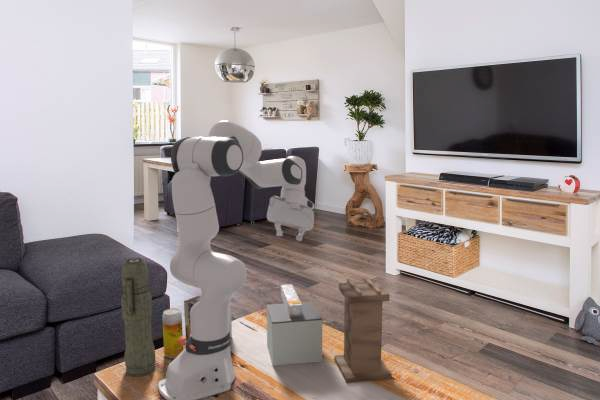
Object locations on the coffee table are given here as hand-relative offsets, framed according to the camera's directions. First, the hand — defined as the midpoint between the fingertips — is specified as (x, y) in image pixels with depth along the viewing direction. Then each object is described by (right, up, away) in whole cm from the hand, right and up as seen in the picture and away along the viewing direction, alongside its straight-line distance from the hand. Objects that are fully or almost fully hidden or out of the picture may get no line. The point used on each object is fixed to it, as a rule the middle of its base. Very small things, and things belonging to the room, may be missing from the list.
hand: (289, 238), depth 168 cm
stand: (+23, -39, -22) cm, 50 cm away
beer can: (-38, -38, -12) cm, 55 cm away
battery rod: (+1, -22, -9) cm, 24 cm away
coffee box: (-30, -37, -6) cm, 48 cm away
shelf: (+2, -37, -11) cm, 39 cm away
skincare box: (-24, -36, +1) cm, 43 cm away
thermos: (-46, -39, -21) cm, 64 cm away
